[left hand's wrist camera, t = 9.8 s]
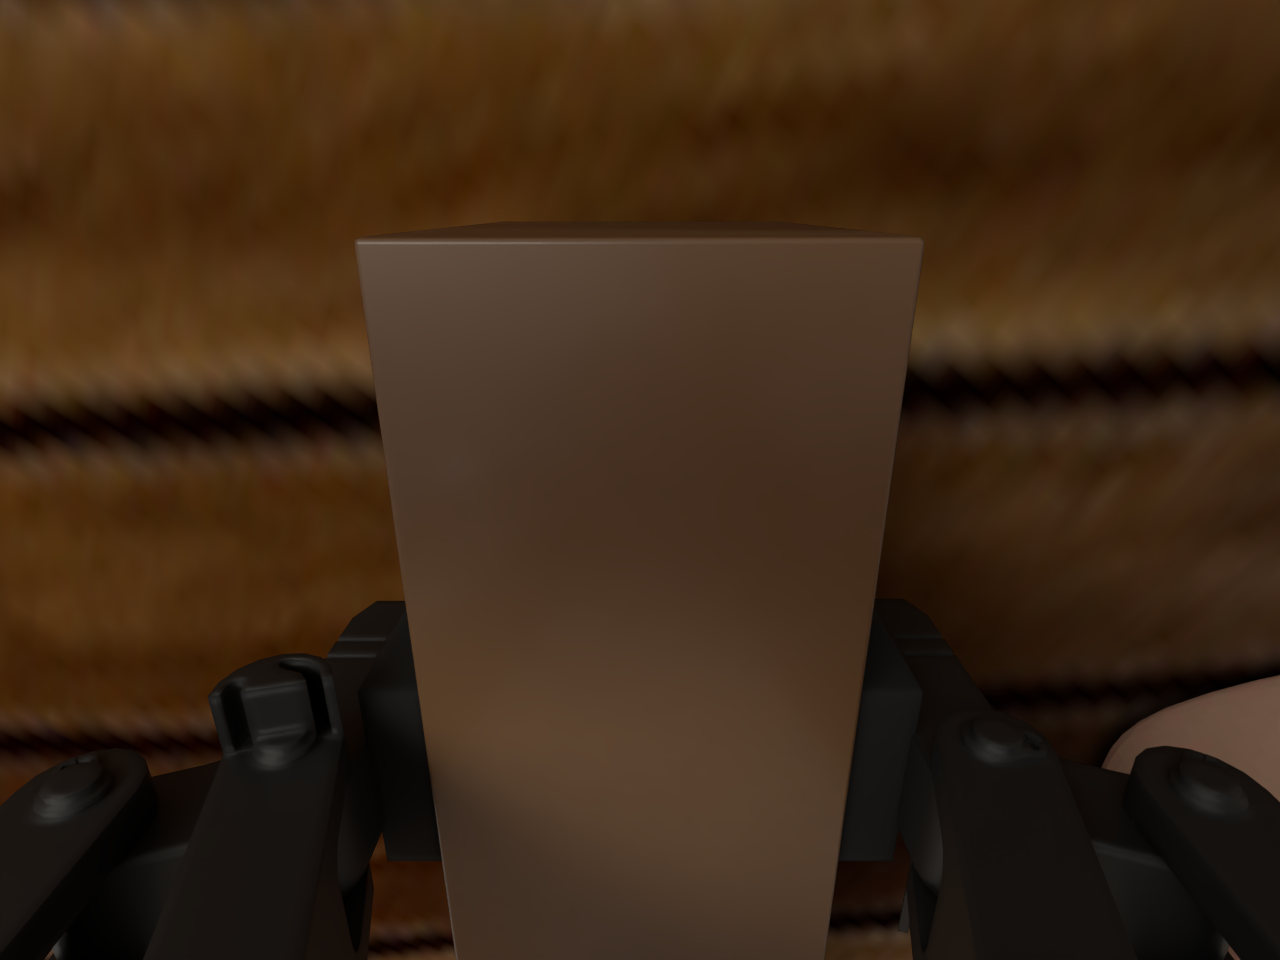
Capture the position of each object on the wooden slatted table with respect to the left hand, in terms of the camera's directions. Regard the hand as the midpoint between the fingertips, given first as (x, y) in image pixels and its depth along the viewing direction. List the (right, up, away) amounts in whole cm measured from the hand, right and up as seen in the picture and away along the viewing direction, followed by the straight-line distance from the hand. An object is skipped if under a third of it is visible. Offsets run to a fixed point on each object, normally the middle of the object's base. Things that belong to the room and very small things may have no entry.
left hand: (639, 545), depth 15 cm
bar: (0, -22, +9) cm, 24 cm away
